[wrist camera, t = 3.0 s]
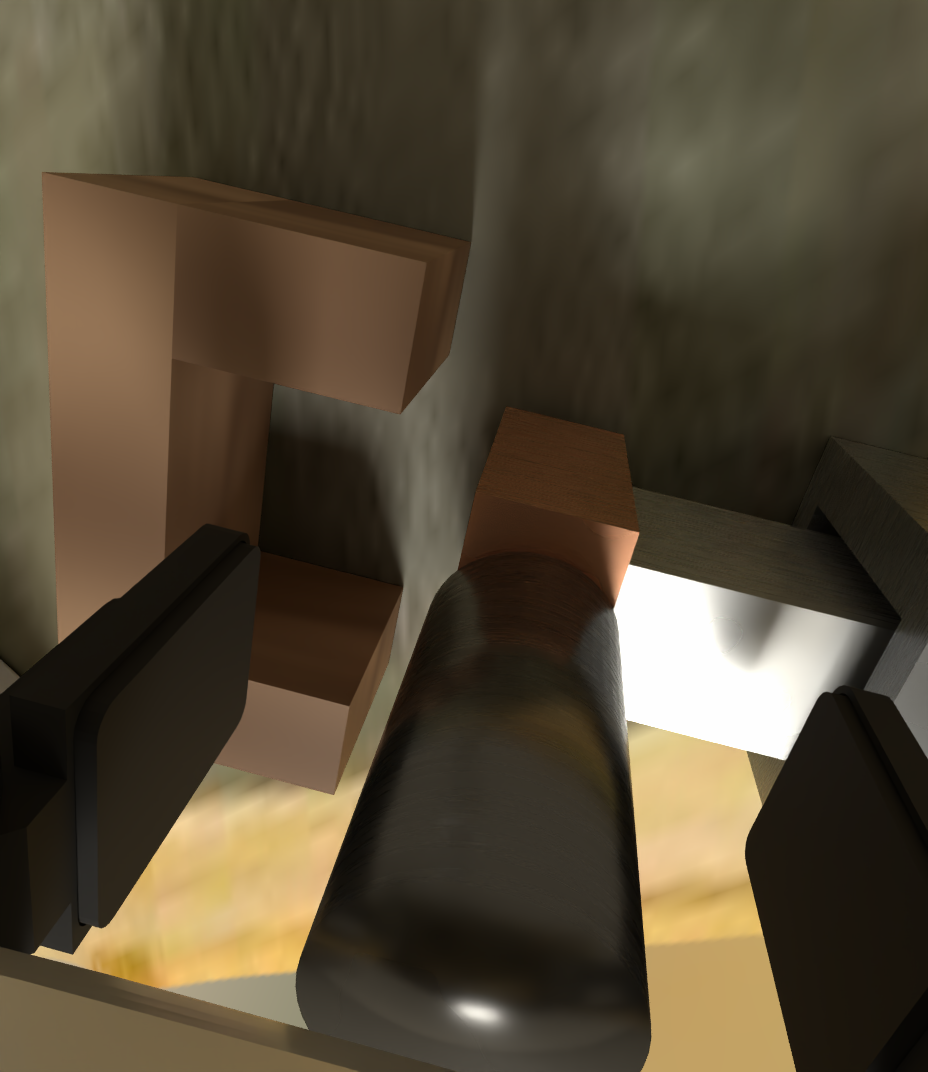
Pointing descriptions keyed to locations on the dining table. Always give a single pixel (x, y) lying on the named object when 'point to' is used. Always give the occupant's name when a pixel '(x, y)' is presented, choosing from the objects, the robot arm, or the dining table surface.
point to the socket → (229, 414)
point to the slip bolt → (562, 752)
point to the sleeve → (877, 565)
